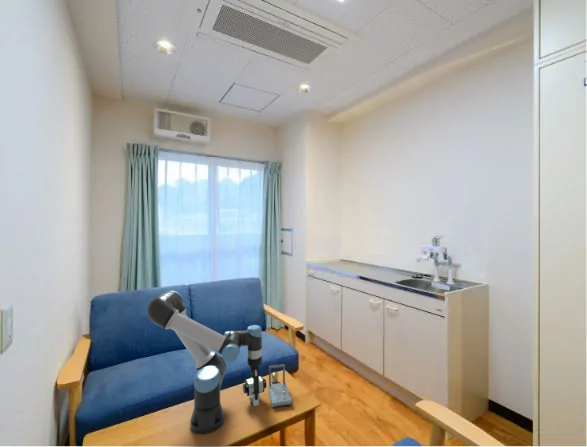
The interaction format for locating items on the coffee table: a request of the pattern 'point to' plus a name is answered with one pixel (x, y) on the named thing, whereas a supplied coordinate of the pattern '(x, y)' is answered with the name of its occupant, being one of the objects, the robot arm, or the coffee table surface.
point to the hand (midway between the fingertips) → (255, 396)
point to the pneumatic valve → (249, 387)
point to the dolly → (279, 390)
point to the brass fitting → (274, 377)
